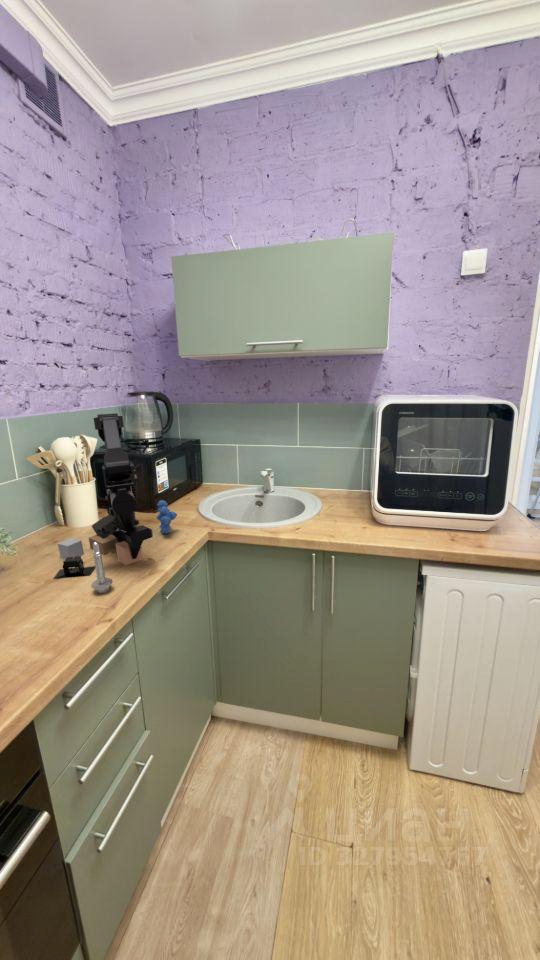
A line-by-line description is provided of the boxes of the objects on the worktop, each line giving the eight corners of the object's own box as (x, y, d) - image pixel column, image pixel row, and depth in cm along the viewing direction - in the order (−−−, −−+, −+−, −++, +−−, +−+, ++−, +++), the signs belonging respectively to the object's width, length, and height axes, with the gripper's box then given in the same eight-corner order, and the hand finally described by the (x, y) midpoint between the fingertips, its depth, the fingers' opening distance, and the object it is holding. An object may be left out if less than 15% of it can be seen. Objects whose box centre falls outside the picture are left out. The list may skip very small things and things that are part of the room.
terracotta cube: (133, 554, 117) (131, 538, 116) (142, 558, 114) (140, 542, 113) (117, 560, 114) (115, 543, 112) (126, 565, 110) (124, 548, 109)
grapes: (181, 537, 128) (178, 502, 124) (160, 541, 125) (155, 505, 122) (176, 525, 138) (173, 492, 135) (156, 528, 136) (152, 495, 133)
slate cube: (74, 551, 120) (71, 537, 119) (83, 554, 118) (81, 540, 117) (60, 557, 117) (57, 543, 116) (70, 560, 115) (67, 546, 113)
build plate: (102, 566, 111) (100, 551, 110) (94, 579, 104) (92, 563, 103) (55, 570, 110) (53, 555, 109) (44, 583, 103) (41, 567, 102)
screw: (112, 594, 96) (90, 597, 95) (114, 584, 100) (94, 587, 99) (104, 544, 92) (82, 547, 91) (107, 536, 97) (86, 539, 96)
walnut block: (114, 540, 128) (112, 529, 127) (128, 546, 123) (126, 534, 122) (90, 549, 122) (88, 537, 121) (104, 556, 117) (102, 543, 116)
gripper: (79, 505, 110) (87, 556, 114) (110, 519, 98) (118, 577, 102) (117, 495, 118) (124, 543, 122) (150, 507, 105) (156, 561, 109)
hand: (129, 555), depth 114 cm, fingers closed on terracotta cube, 5 cm apart
